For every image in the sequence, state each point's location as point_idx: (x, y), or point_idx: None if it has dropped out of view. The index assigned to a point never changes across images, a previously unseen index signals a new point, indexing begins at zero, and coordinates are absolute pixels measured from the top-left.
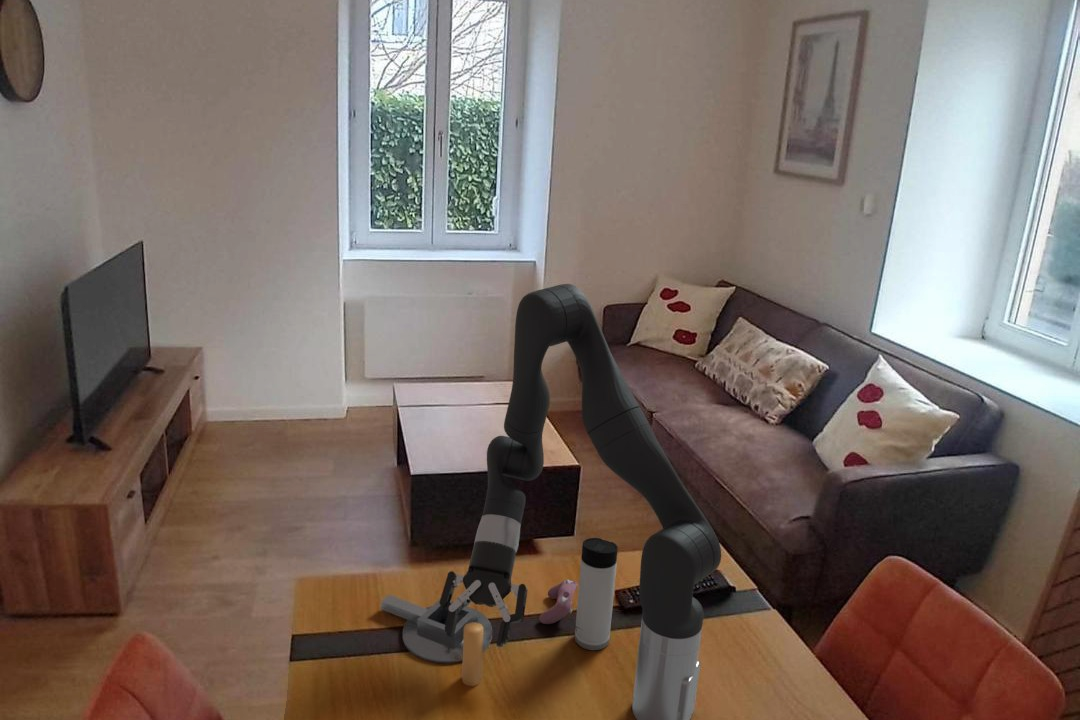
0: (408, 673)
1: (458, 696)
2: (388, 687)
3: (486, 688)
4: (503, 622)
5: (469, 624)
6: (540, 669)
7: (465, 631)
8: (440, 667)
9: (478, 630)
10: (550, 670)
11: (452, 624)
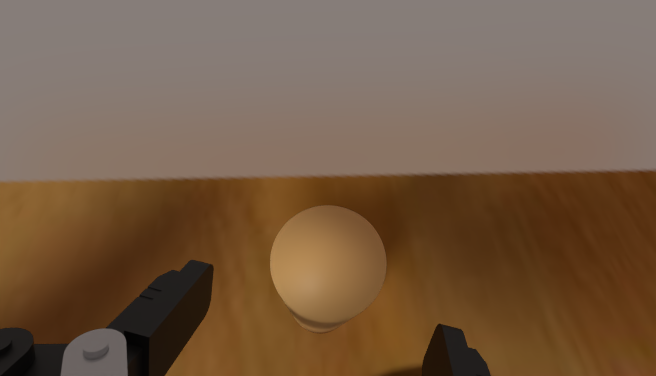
0: (518, 322)
1: None
2: (552, 257)
3: None
4: (134, 333)
5: (356, 296)
6: None
7: (372, 229)
8: None
9: (299, 239)
10: None
11: (454, 362)
